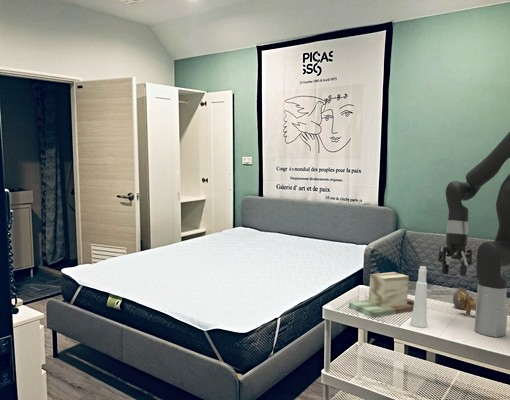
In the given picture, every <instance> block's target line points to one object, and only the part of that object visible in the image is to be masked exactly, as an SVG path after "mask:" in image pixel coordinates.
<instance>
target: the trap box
mask: <svg viewBox="0 0 510 400" xmlns="http://www.w3.org/2000/svg"><path fill="white" fill-rule="evenodd" d="M413 307H414V299H410V298H407V305H400V306H394V307H387V308H381V307H379V306H376V305H373V304H371V303H369V299H366V300H360V301H359V300H358V301H352V302H351V301H350V302H348V308H350V309H351V310H354V311H357V312H359V313H361V314H364V315H367V316H369V317H372V318H378V317H380V318H381V317H385V316H393V315H398V314H399V315H400V314H404V313H410V312H413Z"/></svg>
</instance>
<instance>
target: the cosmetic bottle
mask: <svg viewBox="0 0 510 400" xmlns="http://www.w3.org/2000/svg"><path fill="white" fill-rule="evenodd" d="M427 273H428V271H427V266H423V265H421V266H419V268H418V276H417V281H416V286H415V292H414V293H415V294H414V299H413V301H414V307H413V311H412V314H411V319H410V323H409V324H410V325H411V326H413V327H415V328H422V329H423V328H427V327H428V318H427V317H428V316H427V315H428V312H427V310H428V309H427V307H428V306H427V304H428V299H427V298H428V283H427Z"/></svg>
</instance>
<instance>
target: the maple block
mask: <svg viewBox="0 0 510 400" xmlns="http://www.w3.org/2000/svg"><path fill="white" fill-rule="evenodd" d="M369 275H370V277H369V291H368V300H369V303H371V304H373V305H376V306H379V307H381V308H387V307H394V306H400V305H407V299H408V292H409V282H410V281H409V280H410V279H409V278H410V276H409V275H405V274H403V273H399V272H396V271H391V272H382V273H380V272H379V273H372V274H371V273H370V274H369Z"/></svg>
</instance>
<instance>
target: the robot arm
mask: <svg viewBox="0 0 510 400" xmlns="http://www.w3.org/2000/svg"><path fill="white" fill-rule="evenodd" d="M509 159H510V131H508V133H507V134H506V135H505V136H504V137H503V139H501V141H500V142H499V143H498V144H497V145H496V147H494V148H493V150H492V151H491V152H490V153H489V154H488V155H487V156H486V157H485V158H483V160H482V161H481V162H479V163H477V165H475V166H474V167H473V168H472V169H470V170H469V171H468V172H466V175H465V180H466V181H465V182H463V181H459V180H453V181H450V182H448V184H447V185H446V189H445V199H446V204H447V208H448V215H447V216H448V217H447V218H448V219H447V224H446V235H445V244H446V246H441V245H440V246H439V250H438V258H437V262H439V263H441V265H442V266H441V267H442V268H441V272H442V274H443V275H449V270H450V268H449V266H450V263H451V261H453V260H457V261H458V263H460V268H459V275H460V276H462V277H465V276H466V275H467V268H468V266H471V265H472V263H473V250H472V249H469V248H466V247H467V246H468V237H469V236H468V234H469V208H468V207H466V206H464V204H463V202H465V201H468V200H469V201H470V200H471V199H472V198H474V197H475V196H476V195H477V194H478V192H479V191H480V189H481V188H482V187H483V186H484V185H486V184H487V183H488V182H489V181H490V180H492V179H493V178H494V177H495V176H497V174H498V173H499V172H500V170H501V169H502V167H503V165H504V164H505V163H506V162H507V161H508V160H509ZM496 198H497V199H496V202H495V208H496V209H495V210H496V216H497V220H498V230H497V233H496V237H495V239H494V241H485V242H482V243H481V244H480V245H479V246H478V249H477V251H476V266H475V267H476V269H475V270H476V272H475V273H476V277H477V292H476V301H475V302H476V311H475V318H474V331H475V332H476V333H478V334H480V335H484V336H488V337H493V336H494V338H499V337H503V336H504V337H505V336H506V334H507V325H508V324H507V323H508V322H507V321H508V314H509V313H508V312H509V311H508V308H506V305H507V304H506V302H507V301H506V300H507V292H508V291H507V290H508V280H507V279H506V278H505V277H503V276H502V273H501V268H503V267H504V268H505V267H507V266H509V265H510V173H509V174H508V175H507V176H506V177H505V179H504V180H503V182H502V183H501V185H500V187H499V191H498V195H497V197H496ZM462 201H463V202H462Z"/></svg>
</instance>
